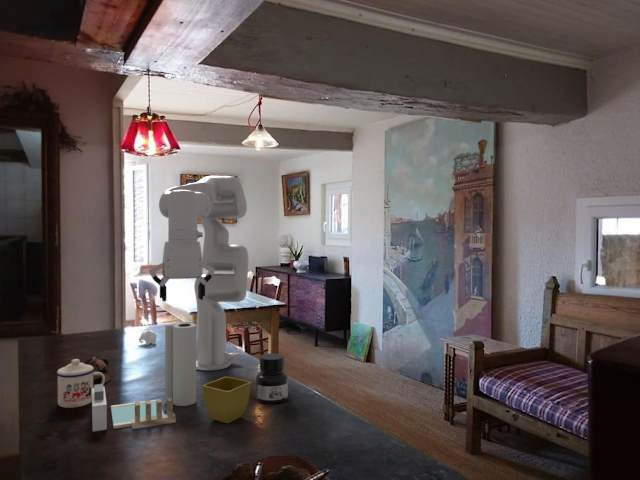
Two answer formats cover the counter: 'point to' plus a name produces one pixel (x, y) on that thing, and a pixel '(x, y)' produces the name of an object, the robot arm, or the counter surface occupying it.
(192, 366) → the paper towel roll
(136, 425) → the cable comb
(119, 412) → the pad
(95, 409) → the block
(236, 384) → the flower pot
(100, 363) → the pottery mug
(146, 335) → the elephant figurine
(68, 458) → the counter surface
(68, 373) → the teacup with lid
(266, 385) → the ink bottle
